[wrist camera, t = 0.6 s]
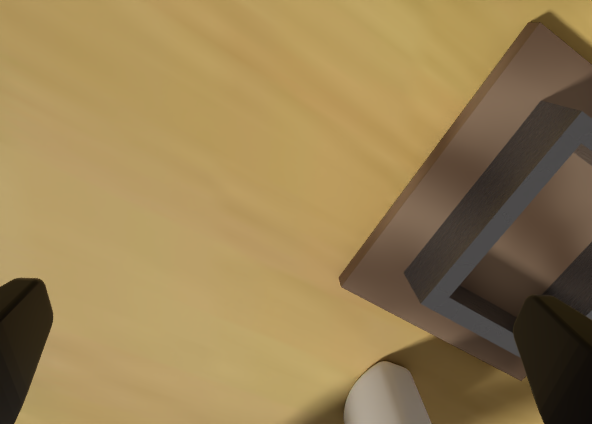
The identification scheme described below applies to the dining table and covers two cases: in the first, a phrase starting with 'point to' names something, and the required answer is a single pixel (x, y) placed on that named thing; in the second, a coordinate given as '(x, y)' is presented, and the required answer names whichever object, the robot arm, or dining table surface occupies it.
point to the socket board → (458, 181)
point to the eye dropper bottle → (385, 398)
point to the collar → (504, 225)
